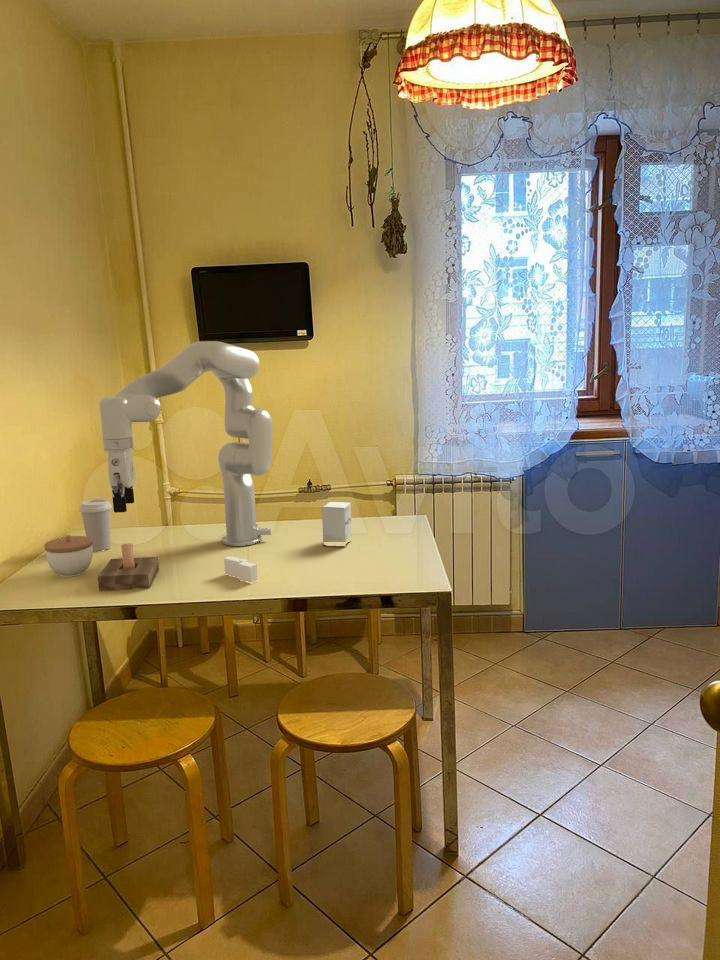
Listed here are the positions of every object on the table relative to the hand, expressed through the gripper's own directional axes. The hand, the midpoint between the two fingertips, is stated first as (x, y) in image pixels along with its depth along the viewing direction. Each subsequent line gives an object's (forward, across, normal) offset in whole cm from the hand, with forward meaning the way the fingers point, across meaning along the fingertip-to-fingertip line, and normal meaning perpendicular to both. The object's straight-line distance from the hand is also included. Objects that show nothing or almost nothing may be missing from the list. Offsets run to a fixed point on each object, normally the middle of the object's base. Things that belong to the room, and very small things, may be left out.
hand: (124, 507), depth 201 cm
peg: (+20, 0, 0) cm, 20 cm away
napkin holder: (+21, -4, -30) cm, 37 cm away
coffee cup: (+20, +32, +16) cm, 41 cm away
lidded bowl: (+20, +9, +18) cm, 29 cm away
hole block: (+20, 0, 0) cm, 20 cm away
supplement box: (+21, +24, -58) cm, 66 cm away
